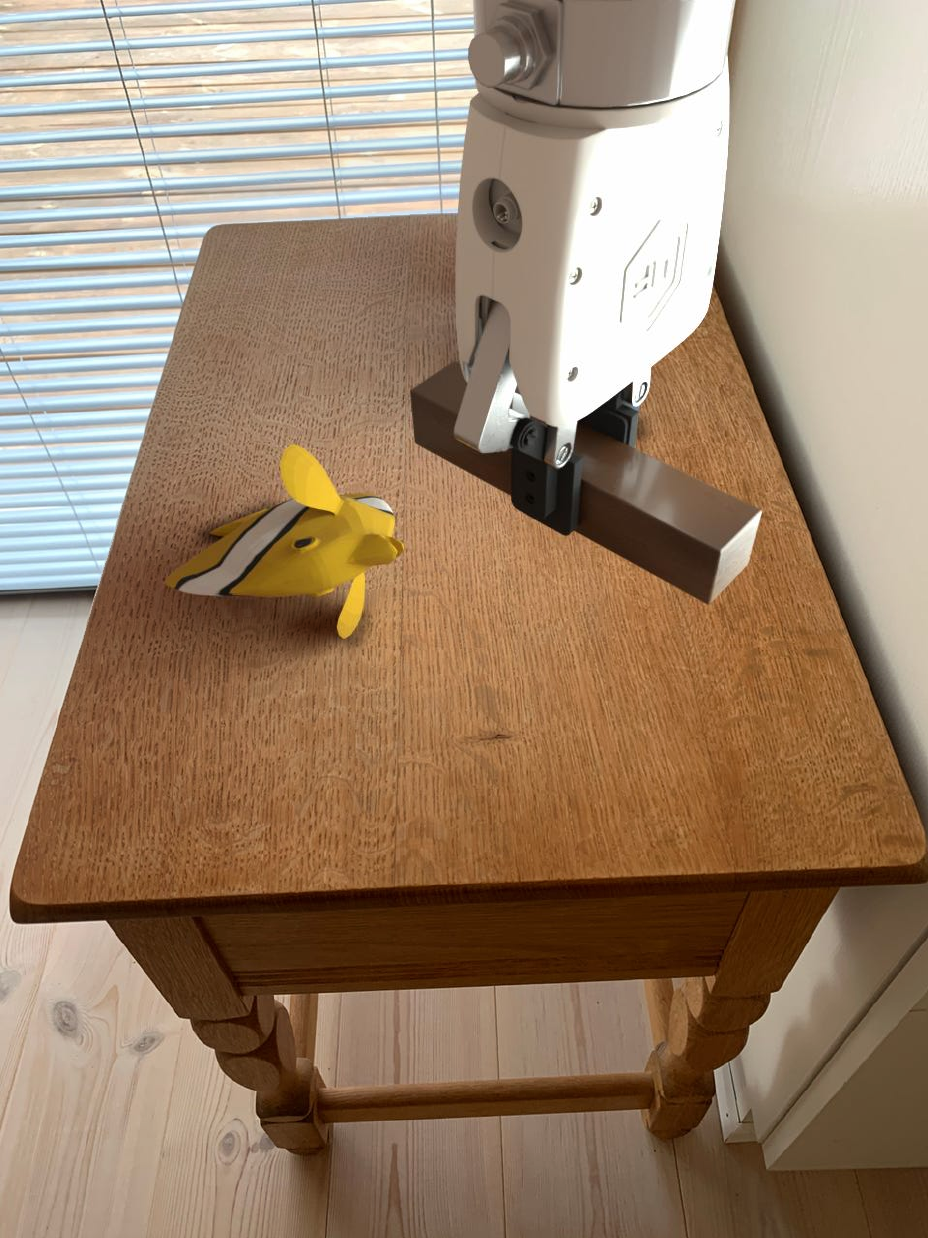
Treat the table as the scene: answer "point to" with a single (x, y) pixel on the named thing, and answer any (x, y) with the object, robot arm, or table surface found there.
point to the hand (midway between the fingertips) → (571, 492)
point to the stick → (614, 496)
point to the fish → (298, 544)
